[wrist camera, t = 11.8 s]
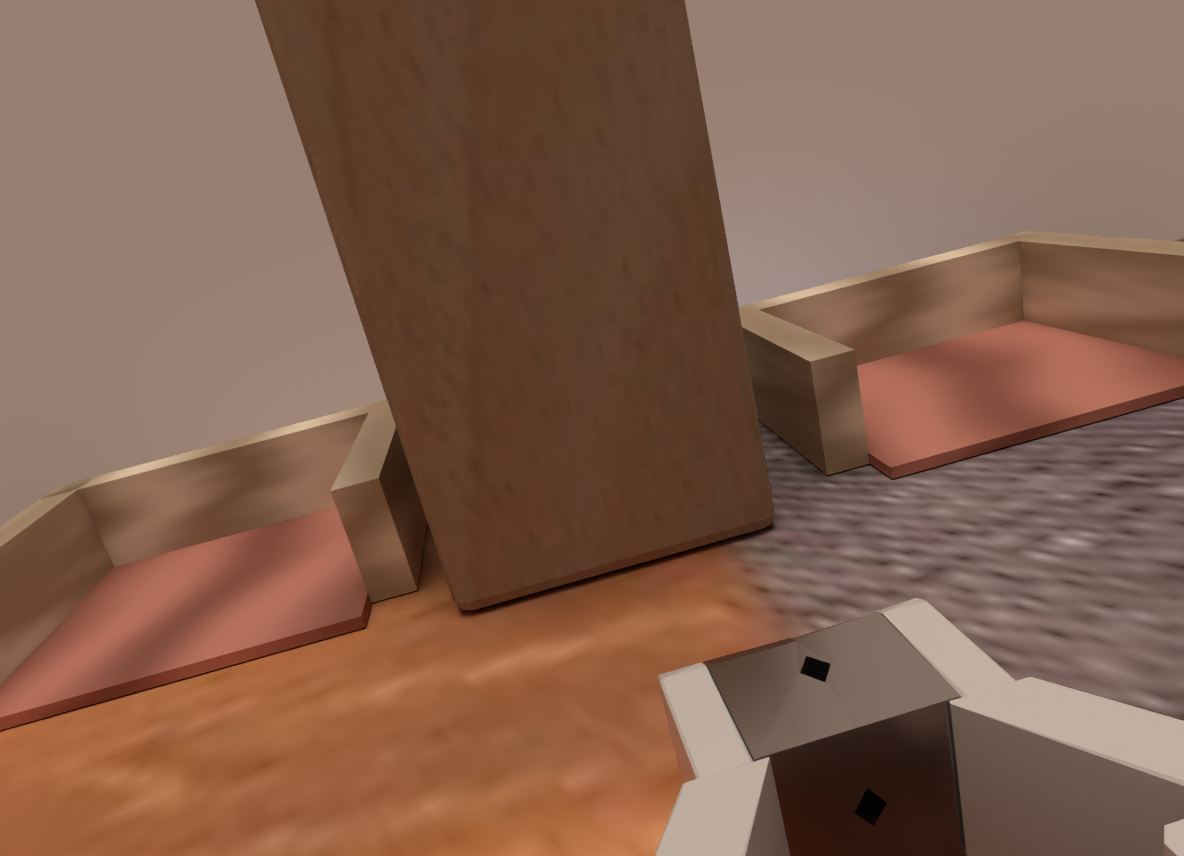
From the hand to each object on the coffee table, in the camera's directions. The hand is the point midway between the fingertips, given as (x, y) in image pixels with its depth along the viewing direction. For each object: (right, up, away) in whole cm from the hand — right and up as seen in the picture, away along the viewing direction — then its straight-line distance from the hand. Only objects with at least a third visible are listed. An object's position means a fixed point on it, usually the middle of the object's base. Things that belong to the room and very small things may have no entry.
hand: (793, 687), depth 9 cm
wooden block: (-2, 0, +19) cm, 19 cm away
